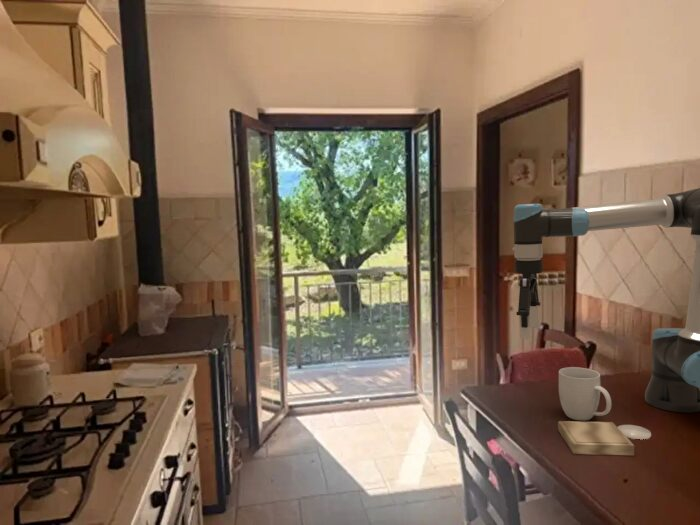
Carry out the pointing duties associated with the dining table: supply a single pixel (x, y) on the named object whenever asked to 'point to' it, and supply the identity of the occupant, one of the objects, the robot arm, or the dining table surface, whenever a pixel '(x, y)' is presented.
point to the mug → (581, 393)
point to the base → (595, 438)
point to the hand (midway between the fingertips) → (529, 333)
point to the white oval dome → (635, 432)
